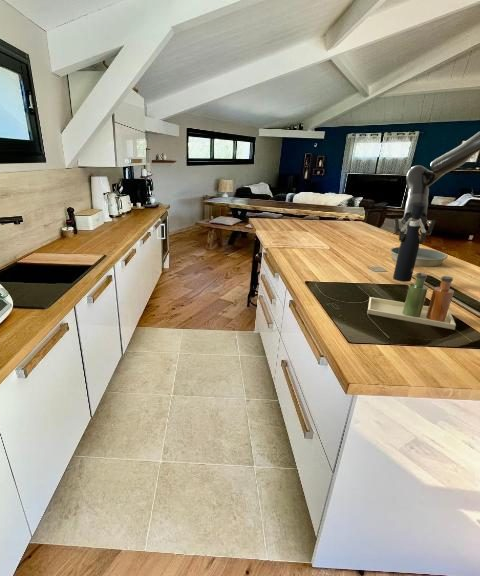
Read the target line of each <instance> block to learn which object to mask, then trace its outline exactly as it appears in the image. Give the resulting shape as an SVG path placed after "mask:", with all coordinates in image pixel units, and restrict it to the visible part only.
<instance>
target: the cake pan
mask: <svg viewBox="0 0 480 576" xmlns="http://www.w3.org/2000/svg"><path fill="white" fill-rule="evenodd" d="M399 248H400V246H396V247H392V248H390V249H389V251H390V253H391V259H392V260H393V261H395V262H397V257H398V253H399ZM447 258H448V255H447V254H446V253H445V252H442V251H438V250H435V249H429V248H424V247H419V249H418V253H417V257H416V262H415V266H414V267H426V268H428V267H429V268H430V267H439V266H441V265H442V263H443V262H444V260H446V259H447Z"/></svg>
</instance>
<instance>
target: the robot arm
mask: <svg viewBox="0 0 480 576" xmlns="http://www.w3.org/2000/svg"><path fill="white" fill-rule="evenodd" d="M479 152H480V131H478V132H477V133H475V134H474V135H473V136H471V137H470V138H468V139H467V140H466V141H464V142H462V143H461V144H459V145H458V146H456V147H455V148H453V149H451V150H449V151H447V152H446V153H444V154H441V156H439V157H436V158H435V159H434V160H432V161H431V162H430V170H429V169H428V168H427V167H424V166H423V165H420V164H418V165H414V166H412V167H411V168H410V169H409V170H408V172H407V174H406V177H405V181H406V187H407V191H408V193H407V197H406V198H407V199H406V202H405V205H404V211H403V212H404V214H403V217H402V218H398V217H395V218H394V221H393V227H394V228H393V229H394V234H399V235H398V241H399V242H400V243H401V242H403V238H404V236H405V233H406V232H407V230H408V226H409V225H410V221H412V216H413V214H411V211H412V206H413V205H423V206H425V207H424V211H423V215H420V220H415V221H420V223H419V224H420V225H419V226H420V228H419V232H418V233H419V234H420V236H419V245H421V244H422V243H424V242H425V240H426V236H428V237H429V236H431V234H432V232H433V229H434V227H435V224H436V219H432V220H429V219H428V218H427V215H428V205H429V193H430V188H429V187H431V186H432V185H433V184H434V183H435V182H437V181H438V180H439V179H441V177H443V176H444V175H445V174H447V173H449V172H451V171H453V170H456V169H457V168H459V167H461V166H463V165H464V164H466V163H467V162H468V161H469V160H470V159H471V158H472V157H473V156H474V155H475V154H477V153H479ZM401 223H402V224H403V226H402V227H401V228H400V224H401ZM426 224H427V226H428V230H426V228H425V225H426Z"/></svg>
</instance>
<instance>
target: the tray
mask: <svg viewBox="0 0 480 576" xmlns="http://www.w3.org/2000/svg"><path fill="white" fill-rule="evenodd" d="M368 299H369V300H368V306H367V311H366V312H367V315H373V316H378V317H384V318H388V319H389V318H390V319H395V320H399V321H405V322H412V323H416V324H422V325H427V326H431V327H437V328H438V327H439V328H444V329H448V330H456V327H457V324H456V321H455V319H454V317H453V314H452V312H451V310H450V309H448V313H447V316H446V319H445V321H444V322H440V321H434V320H429V319H427V318H426V314H427V310H428V307H429V305H423V308H422V312H421V315H420V317H412V316H406V315H404V314H403V313H402V312H403V308H404V304H405V301H404V302H403V301H397V300H391V299H384V298H379V297H372V296H369V298H368Z"/></svg>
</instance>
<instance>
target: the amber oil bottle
mask: <svg viewBox="0 0 480 576" xmlns="http://www.w3.org/2000/svg"><path fill="white" fill-rule="evenodd" d="M453 280H454V278H453V277H452V276H447V275H441V277H440V283H439V286H435V287H433V290H432V293H431V295H430V296H431V297H430V300H429V303H428V306H429V307H428V310H427V314H426V318H427V319H429V320H434V321H440V322H444V321H445V319H446V316H447V313H448V310H450V306H451V302H452V299H453V297H454V294H455V290H453V289H452V288H451V284H452V282H453Z"/></svg>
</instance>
